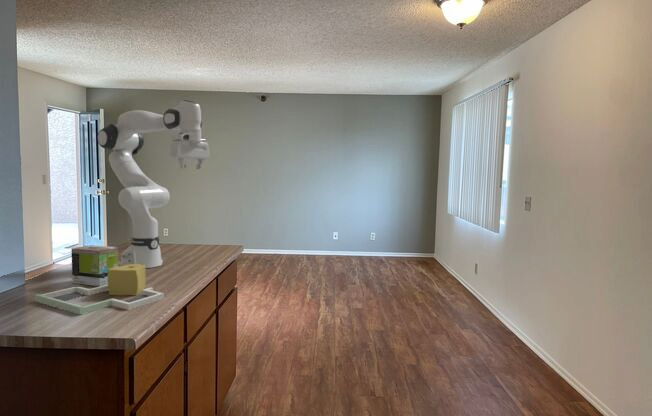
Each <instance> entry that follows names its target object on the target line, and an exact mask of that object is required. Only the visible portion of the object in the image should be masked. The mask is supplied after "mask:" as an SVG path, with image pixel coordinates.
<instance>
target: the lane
mask: <svg viewBox="0 0 652 416" xmlns="http://www.w3.org/2000/svg"><path fill="white" fill-rule="evenodd" d="M107 290H108V284H107V285H104V286H95V287H93V288H92V287H91V288H86V287H83V286H73V287H68V288H64V289H58V290H56V291H52V292H47V293H42V294H40V293H36V294H34V296H35V297H34V301H35V302H36V303H38V302H39V304H42V303H43V305H45V304H47V305H46V306H48V305H51V306H50V307H52V306H55V307H58V308H57V309H59V308H62V309H65V310H67V311H66V312H69V311H70V313H72V312H74V313H73V314H75V313H78V314H77V315H79V314H82V315H84V314H83V313H85V314H87V313H86V312H88V313H91V312H90V311H92V312H94V310H95V311H98V310H101V308H102V309H104V307H105V308H108V307H111V306H112V307H116V308H119V309H124V310H127V311H131V310H133V308H134V309H136V307H137V308H139V307H142V306H147V305H149V304H152V303H154V302H155V303H156V302H158V301H160V300H164V299H165V295H164V292H161V291H155V290H154V287H148V288H145V289H143V290H142V291H141V295H139V296H136V297H133V298H129V299H126V300H120V299H116V298H109V299H105V300H102V301H98V302H95V303H91V304H88V305H85V306H82V305H79V304H75V303H71V302H68V301H69V299H70V300H73V298H74V299H76V297H78V298H81V297H84V295H85V294H86V295H85V296H88V295H89V296H92V295H91V294H93V295H95V293H97V294H100V293H99V292H101V293H103V291H104V292H107ZM108 291H109V290H108ZM81 293H82V294H81ZM80 296H81V297H80ZM65 300H66V301H65ZM55 307H54V308H55ZM62 309H61V310H62ZM97 309H98V310H97ZM65 310H64V311H65Z"/></svg>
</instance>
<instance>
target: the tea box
mask: <svg viewBox="0 0 652 416" xmlns="http://www.w3.org/2000/svg"><path fill="white" fill-rule="evenodd" d="M70 250H71V277H72V283H73V284H79V285H84V286H85V285H87V286H92V287H94V286H95V287H100V286H104V285H108V281H107V278H108V270H109V269H111V268H113V267H117V266H119V265H118V262H119V248H118V246H109V245H108V246H107V245H94V244H91V245H90V244H89V245H85V246H79V247H72V248H71V249H70Z"/></svg>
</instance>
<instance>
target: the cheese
mask: <svg viewBox="0 0 652 416" xmlns="http://www.w3.org/2000/svg"><path fill="white" fill-rule="evenodd" d="M146 279H147V278H146V268H145V265H144V264H128V265H125V266H119V265H118V266H117V267H113V268H111V269H109V270H108V278H107V281H108V284H107V285H108V293H109V294H108V295H109V296H110V295H118V296H137V295H139V294H140V293H142V290H144V289H146Z"/></svg>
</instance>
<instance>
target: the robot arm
mask: <svg viewBox="0 0 652 416" xmlns="http://www.w3.org/2000/svg"><path fill="white" fill-rule="evenodd" d="M202 125H203V120H202V111H201V105H200V104H199V102H196V101H191V100H189V99H187V100H186V99H184V100H183V99H182V100H181V101H180V103H179V104H178V105H176V106H174V107H172V108H168V109H167V110H165V111H164V113H163V114H160V113H159V114H158V113H155V112H152V111H147V110H143V109H142V110H141V109H138V110H137V109H136V110H135V109H134V110H130V111H126V112H123V113H121V114H120V115H119V117H117V123H116V124H112V123H110V124H109V125H107V126H105V127H103V128H101V129H100V130H99V131H98V133H97V143H98V145H99V146H100V147H101V148H102V149H104V150H113V151H112V152H110V154H109V156H108V162H109V164H110V167H111V170H112V171H113V173H114V174H115V176H116V177H117V179H118V180H119V182H120V183H121V185H122V186H123V187H124V188H122V189H121V190H120V192H119V193H118V198H117V199H118V203H119V205H120V206H121V208H123V209H124V210H126V211H127V213H128V214H129V216H130V218H131V221H132V222H131V223H132V229H133V230H132V231H133V234H132V235H133V236H132V237H130V238H129V239H130V240H129V241H130V242H131V243H130V245H129V246H128V247H127V248H126V249H125V250H123V251H122V253H121V260H118V266H125V265H128V264H144V265H145V269H150V268H157V267H160V266H162V265H163V263H164V261H163V259H162V254H161V247H160V245H159V244H160V236H159V222H158V220H157V219H156V218H155V217H154V216H152V215H151V214H150V210H149V209H159V208H163V207H164V206H167V205H168V203H169V202H170V200H171V199H170V198H171V197H170V195H171V194H170V192H169V190H168V189H167V188H166V187H163V186H161V185H160V184H157V183H156V182H154V181H153V180H152V179H151V178H149V176H147V175H146V174H145V173H144V171H142V170H141V168H140V167H139V165H138V164H137V162H136V161H135V159H134V158H133V156H134V155H137V154H138V152H139V151H140V150H141V149H142V148H143V146H144V145H145V139H144V135H143V134H147V133H154V132H162V131H174V132H175V131H176V132H178V133H176V134H171V135H170V140H171V141H170V146H169V147H170V148H169V150H170V156H171V158H176V159H177V161H178V163H179V165H180V169H182V170H185V169H186V167H187V165H186V164H185V162H184V161H185V159H192V160H193V159H194V160H197V164H196V165H195V167H196V170H202V166H203V164H204V160H209V159H210V156H211V155H210V147H209V142H208V141H207V139H205V138H202Z"/></svg>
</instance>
